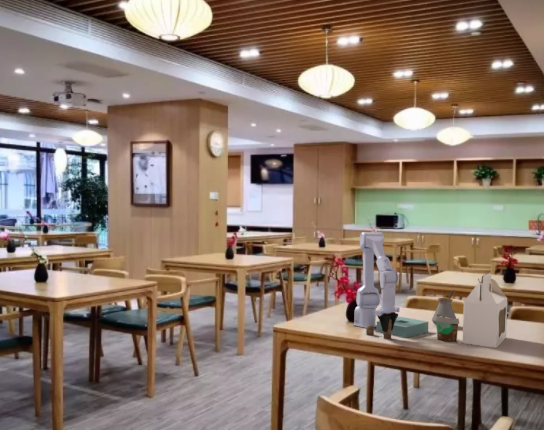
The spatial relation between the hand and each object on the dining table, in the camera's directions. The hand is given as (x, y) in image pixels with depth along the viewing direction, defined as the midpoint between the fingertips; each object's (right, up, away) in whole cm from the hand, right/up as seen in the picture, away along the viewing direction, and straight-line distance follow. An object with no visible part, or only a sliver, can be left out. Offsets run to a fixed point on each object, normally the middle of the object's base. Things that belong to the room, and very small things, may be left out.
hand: (387, 330), depth 243 cm
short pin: (-6, -3, +7) cm, 10 cm away
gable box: (+41, -4, -1) cm, 41 cm away
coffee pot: (+34, -3, +31) cm, 46 cm away
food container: (+23, -4, -1) cm, 24 cm away
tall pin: (0, -3, 0) cm, 3 cm away
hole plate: (+9, -3, +13) cm, 17 cm away
